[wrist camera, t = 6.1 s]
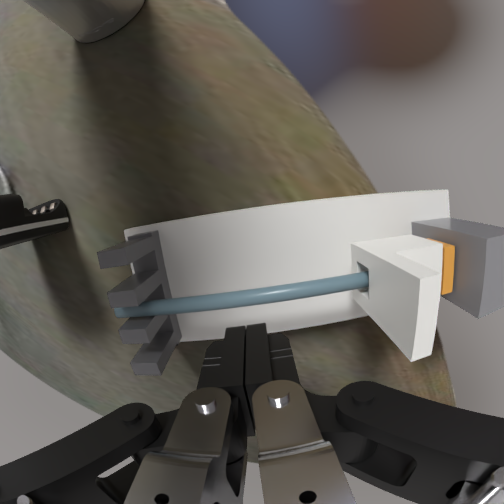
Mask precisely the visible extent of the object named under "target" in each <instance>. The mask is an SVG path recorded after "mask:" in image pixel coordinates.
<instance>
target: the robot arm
mask: <svg viewBox="0 0 504 504" xmlns="http://www.w3.org/2000/svg"><path fill="white" fill-rule="evenodd" d="M23 1H25V2H26V3H28V4H29V5H30V6H32V7H33V8H35V9H36V10H37V11H39V12H40V13H42V14H43V15H44V16H46V17H47V18H48V19H50V20H51V21H52V22H54V23H55V24H56V25H58V26H59V27H60V28H62V29H63V30H64V31H66V32H67V33H68V34H70V35H71V36H72V37H73V38H75V39H76V40H77V41H79V42H82V43H89V42H94V41H97V40H100V39H103V38H105V37H107V36H109V35H111V34H112V33H114V32H116V31H117V30H119V29H120V28H121V27H123V26H124V25H125V24H127V23H128V22H129V21H130V20H131V19H132V18H133V17H134V16H135V15H136V14H137V13H138V11H139V10H140V9H141V7H142V5H143V3H144V1H145V0H23ZM255 428H256V433H257V440H258V447H259V455H258V460H259V468H260V475H261V482H262V489H263V496H264V503H265V504H356V501H355V499H354V497H353V494H352V492H351V489H350V487H349V484H348V482H347V480H346V477H345V475H344V472H343V471H345V472H347V473H349V474H351V475H353V476H355V477H357V478H359V479H361V480H363V481H365V482H367V483H369V484H372V485H374V486H376V487H378V488H380V489H382V490H385V491H387V492H389V493H392V494H394V495H397V496H399V497H402V498H404V499H407V500H410V501H412V502H415V503H418V504H504V418H500V417H495V416H491V415H486V414H481V413H477V412H473V411H469V410H465V409H460V408H457V407H453V406H449V405H445V404H442V403H438V402H435V401H431V400H428V399H425V398H421V397H418V396H415V395H412V394H408V393H405V392H402V391H399V390H396V389H393V388H390V387H387V386H384V385H381V384H378V383H375V382H371V381H359V382H354V383H351V384H349V385H347V386H345V387H344V388H342V389H341V390H340V391H339V393H338V395H337V396H320V395H315V394H312V393H310V392H308V391H306V390H305V389H304V388H303V387H302V386H301V384H300V382H299V378H298V374H297V370H296V366H295V362H294V358H293V354H292V350H291V346H290V342H289V339H288V338H287V337H286V336H284V335H283V334H282V333H278V334H271V335H267V328H266V323H259V324H251V325H247V327H246V326H245V325H244V326H236V327H228V328H226V331H225V337H224V341H215V342H213V343H212V344H211V345H210V346H209V347H208V349H207V350H206V354H205V359H204V362H203V367H202V370H201V374H200V378H199V382H198V386H197V390H195V391H193V392H191V393H190V394H188V395H187V396H186V397H185V398H184V399H183V401H182V404H181V406H180V408H179V409H177V410H173V411H169V412H164V413H160V414H155V413H154V411H153V409H152V408H151V407H150V406H148V405H146V404H143V403H130V404H127V405H124V406H122V407H120V408H118V409H116V410H115V411H113V412H111V413H109V414H108V415H106V416H104V417H102V418H101V419H99V420H97V421H95V422H93V423H91V424H89V425H88V426H86V427H84V428H82V429H80V430H78V431H76V432H74V433H72V434H71V435H68V436H66V437H64V438H62V439H61V440H58V441H56V442H54V443H52V444H50V445H48V446H46V447H44V448H42V449H40V450H38V451H35V452H33V453H31V454H29V455H27V456H24V457H22V458H20V459H17V460H15V461H13V462H10V463H8V464H5V465H3V466H0V504H243V493H244V485H245V476H246V466H247V458H248V453H247V450H246V449H247V436H255ZM130 456H132V458H133V459H134V461H133V462H131V463H130V464H128V465H126V466H125V467H123V468H121V469H120V470H118V471H116V472H115V473H113V474H111V475H110V476H108V477H105V478H99V477H97V476H98V475H100V474H101V473H103V472H105V471H107V470H108V469H110V468H112V467H113V466H115V465H117V464H118V463H120V462H122V461H123V460H125V459H127V458H128V457H130Z"/></svg>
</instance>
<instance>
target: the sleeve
mask: <svg viewBox="0 0 504 504" xmlns="http://www.w3.org/2000/svg"><path fill="white" fill-rule="evenodd" d="M350 244H351V260H352V274H353V273H359V272H365V271H369V287H366V288H360V289H355V290H353V299H354V300H355V301H356V302H357V303H358V304H359V305H360V306H361V307H362V308H363V310H364V311H365V312H366V313H367V314H368V315H369V316H370V317H371V318H372V319H373V320H374V321H375V322H376V324H377V325H378V326H379V327H380V328H381V329H382V330H383V331H384V332H385V333H386V334H387V336H388V337H389V338H390V339H391V340H392V341H393V342H394V343H395V344H396V346H397V347H398V348H399V349H400V350H401V351H402V352H403V353H404V354H405V356H406V357H407V358H408V359H409V360H410V361H411V362H412V361H415V360H418V359H421V358H423V357H426V356H429V355H431V353H432V348H433V343H434V337H435V331H436V324H437V317H438V308H439V303H440V293H441V280H442V260H443V244H442V243H439V242H436V241H432V240H429V239H425V238H422V237H418V236H415V235H411V234H410V235H403V236H396V237H389V238H382V239H375V240H368V241H361V242H354V243H350Z"/></svg>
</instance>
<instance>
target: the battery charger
mask: <svg viewBox="0 0 504 504" xmlns="http://www.w3.org/2000/svg"><path fill="white" fill-rule="evenodd" d="M68 222H69V220H68V217H67V213H66V209H65V205H64V203H63V202H62V201H61V200H60V199H55V200H51V201H48V202H46V203H43V204H41V205H38V206H36V207H34V208H31V209H29V210H28V209H27V208H24V205H23V201H22V198H21V196H20V195H16V194H6V195H0V249H2V248H5V247H9V246H12V245H16V244H20V243H23V242H27V241H31V240H34V239H37V238H40V237H43V236H47V235H50V234H53V233H57V232H60V231H63V230H66V229H68V227H69V226H68Z"/></svg>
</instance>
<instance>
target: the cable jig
mask: <svg viewBox="0 0 504 504" xmlns="http://www.w3.org/2000/svg"><path fill="white" fill-rule="evenodd" d="M410 234H411V235H415V236H418V237H422V238H425V239H429V240H432V241H436V242H439V243H442V244H443V260H442V280H441V293H440V297H441V296H442V297H444V298H445V299H447V300H449V301H450V302H452V303H454V304H455V305H457V306H459V307H460V308H462V309H463V310H465V311H467V312H468V313H470V314H471V315H473V316H475V317H476V318H478V319H479V318H481V317H483V316H486V315H488V314H490V313H492V312H494V311H496V310H498V309H500V308H502V307H504V228H503V227H498V226H493V225H488V224H483V223H478V222H472V221H467V220H461V219H455V218H450V208H449V194H448V190H422V191H407V192H392V193H379V194H367V195H356V196H345V197H335V198H326V199H316V200H308V201H299V202H291V203H283V204H275V205H267V206H260V207H253V208H246V209H239V210H232V211H225V212H219V213H212V214H206V215H200V216H194V217H188V218H182V219H176V220H171V221H165V222H160V223H154V224H149V225H144V226H139V227H133V228H129V229H126V230H124V235H125V240H126V241H125V242H122V243H120V244H117V245H115V246H112V247H109V248H107V249H104V250H102V251H99V252H97V255H98V259H99V264H100V268H101V269H103V268H110V267H117V266H124V265H129V264H131V269H132V273H133V275H132V276H130V277H129V278H127V279H126V280H124V281H123V282H121V283H120V284H119V285H117V286H116V287H114V288H113V289H111V290H110V291H109V292H107V295H108V299H109V302H110V306H111V308H114V311H115V315H116V317H117V318H128V317H130V318H129V319H128V320H127V321H126V322H125V323H124V324H123V325H122V327H121V328H120V329H119V330H118V331H119V334H120V337H121V340H122V343H123V344H142V343H144V344H143V345H142V347H141V348H140V350H139V351H138V352H137V354H136V355H135V357H134V358H133V360H132V361H131V363H130V364H131V367H132V369H133V371H134V374H135V375H162V373H163V370H164V368H165V366H166V364H167V362H168V360H169V358H170V356H171V354H172V352H173V350H174V348H175V346H176V345H178V344H179V342H185V341H199V340H211V339H222V338H224V337H225V331H226V328H228V327H236V326H244V325H245V326H246V327H247V325H251V324H259V323H266V328H267V333H274V332H281V331H287V330H294V329H300V328H306V327H312V326H318V325H324V324H329V323H334V322H339V321H345V320H349V319H354V318H359V317H364V316H368V314H367V313H366V312H365V311H364V310H363V308H362V307H361V306H360V305H359V304H358V303H357V302H356V301H355V300H354V299H353V290H355V289H360V288H366V287H369V271H365V272H359V273H353V274H352V260H351V244H350V243H354V242H361V241H368V240H375V239H382V238H389V237H396V236H403V235H410Z"/></svg>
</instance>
